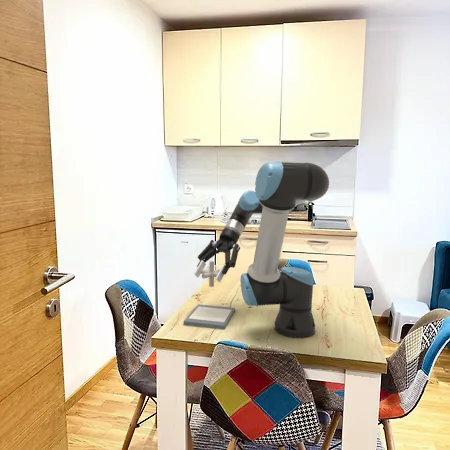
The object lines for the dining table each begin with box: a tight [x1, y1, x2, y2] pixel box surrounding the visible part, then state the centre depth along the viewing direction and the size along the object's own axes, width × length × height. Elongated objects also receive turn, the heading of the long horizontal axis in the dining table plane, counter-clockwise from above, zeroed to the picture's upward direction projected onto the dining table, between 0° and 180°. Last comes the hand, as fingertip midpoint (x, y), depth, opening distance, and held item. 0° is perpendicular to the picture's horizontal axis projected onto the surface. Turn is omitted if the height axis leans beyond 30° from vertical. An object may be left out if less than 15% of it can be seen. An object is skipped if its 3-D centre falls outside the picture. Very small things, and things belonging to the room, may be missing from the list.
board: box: [183, 304, 236, 330], centre depth 169 cm, size 20×16×2 cm
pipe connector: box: [200, 260, 221, 288], centre depth 167 cm, size 10×10×10 cm
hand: (206, 277), depth 165 cm, fingers closed on pipe connector, 10 cm apart
